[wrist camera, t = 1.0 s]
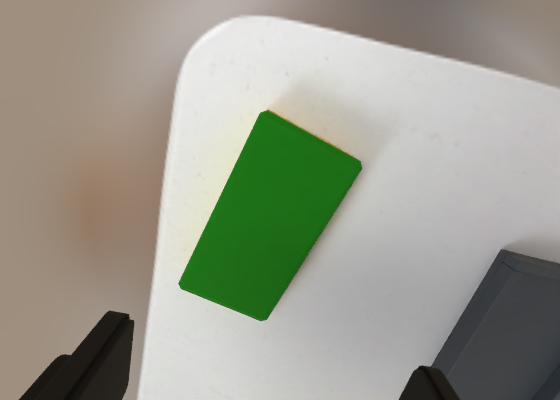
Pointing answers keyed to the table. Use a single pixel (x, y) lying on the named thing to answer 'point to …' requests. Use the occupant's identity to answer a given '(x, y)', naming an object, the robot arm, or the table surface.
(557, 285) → the tray
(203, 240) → the dish sponge
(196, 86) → the table surface
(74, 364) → the robot arm
